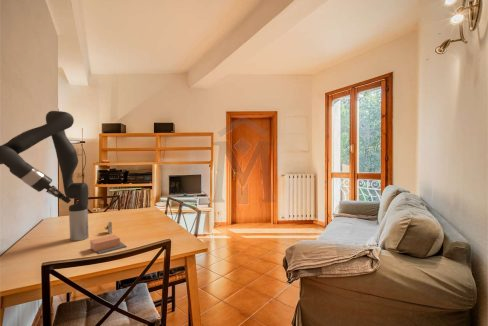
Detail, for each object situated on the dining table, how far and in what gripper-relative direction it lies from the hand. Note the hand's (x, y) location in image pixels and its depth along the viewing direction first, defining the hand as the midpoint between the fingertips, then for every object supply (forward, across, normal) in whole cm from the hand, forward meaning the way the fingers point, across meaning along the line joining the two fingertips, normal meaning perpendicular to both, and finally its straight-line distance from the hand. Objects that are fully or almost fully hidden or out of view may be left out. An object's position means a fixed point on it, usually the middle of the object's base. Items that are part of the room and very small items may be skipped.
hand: (69, 201), depth 124 cm
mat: (+30, -6, +7) cm, 31 cm away
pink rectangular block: (+22, -6, +11) cm, 25 cm away
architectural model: (+36, +21, +2) cm, 41 cm away
